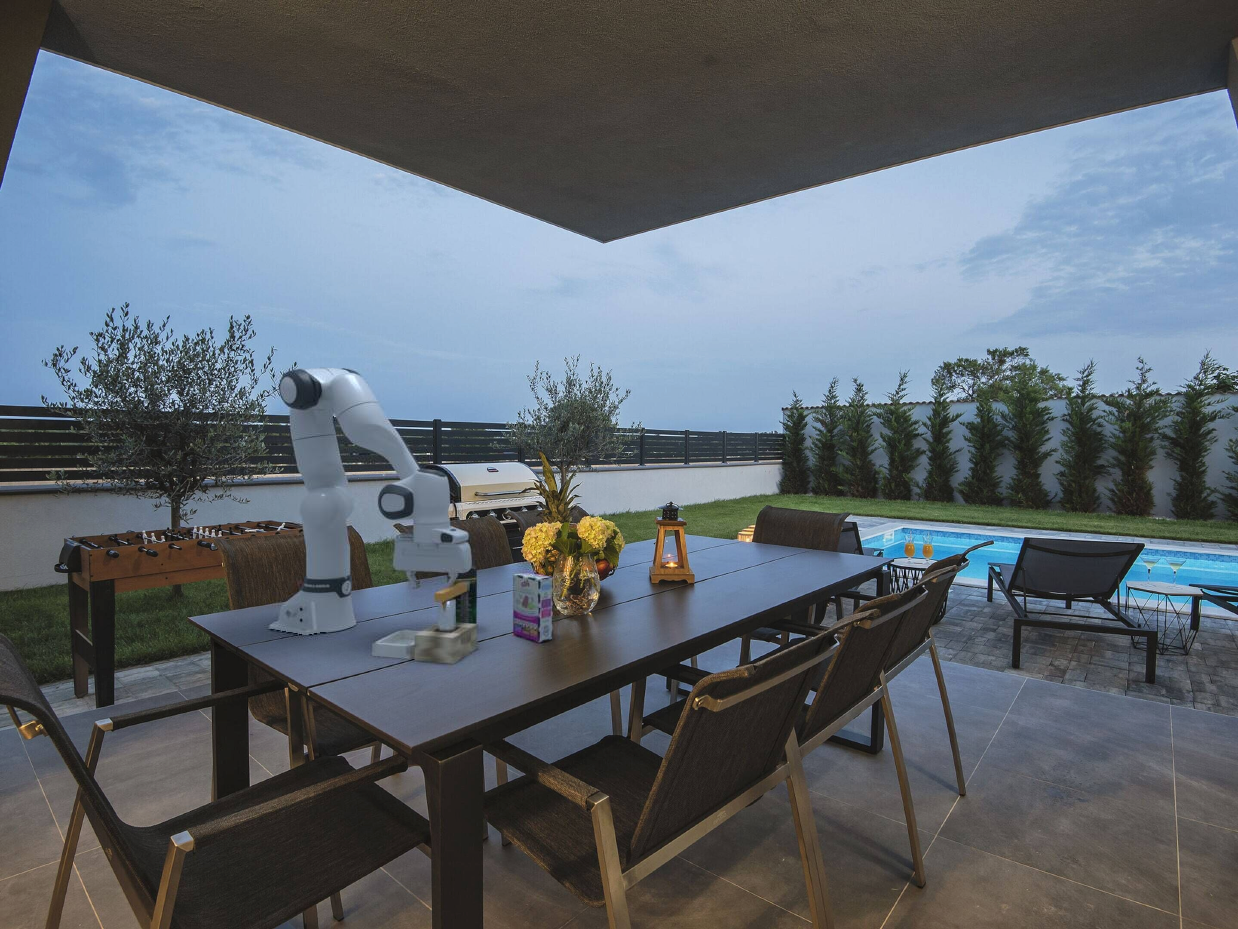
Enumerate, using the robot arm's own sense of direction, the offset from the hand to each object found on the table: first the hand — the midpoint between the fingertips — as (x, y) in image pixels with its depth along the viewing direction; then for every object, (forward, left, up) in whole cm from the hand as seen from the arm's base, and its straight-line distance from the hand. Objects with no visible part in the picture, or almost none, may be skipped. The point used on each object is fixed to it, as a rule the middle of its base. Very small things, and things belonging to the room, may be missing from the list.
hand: (432, 589), depth 153 cm
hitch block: (+7, -2, -14) cm, 16 cm away
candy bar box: (+22, +13, -15) cm, 29 cm away
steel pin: (+7, -5, -14) cm, 17 cm away
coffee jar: (+1, +14, -15) cm, 20 cm away
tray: (-5, -4, -14) cm, 16 cm away
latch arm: (+7, -2, -1) cm, 7 cm away
